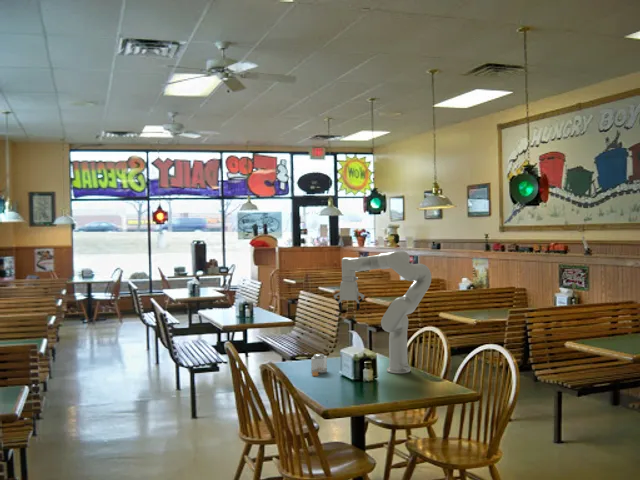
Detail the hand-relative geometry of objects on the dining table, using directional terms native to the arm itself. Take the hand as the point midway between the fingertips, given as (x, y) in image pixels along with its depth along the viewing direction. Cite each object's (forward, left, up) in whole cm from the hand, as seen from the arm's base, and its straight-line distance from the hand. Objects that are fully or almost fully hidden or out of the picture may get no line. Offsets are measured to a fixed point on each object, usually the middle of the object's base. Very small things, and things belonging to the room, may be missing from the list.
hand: (349, 310), depth 349 cm
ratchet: (-8, +26, -30) cm, 40 cm away
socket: (-6, +24, -28) cm, 38 cm away
